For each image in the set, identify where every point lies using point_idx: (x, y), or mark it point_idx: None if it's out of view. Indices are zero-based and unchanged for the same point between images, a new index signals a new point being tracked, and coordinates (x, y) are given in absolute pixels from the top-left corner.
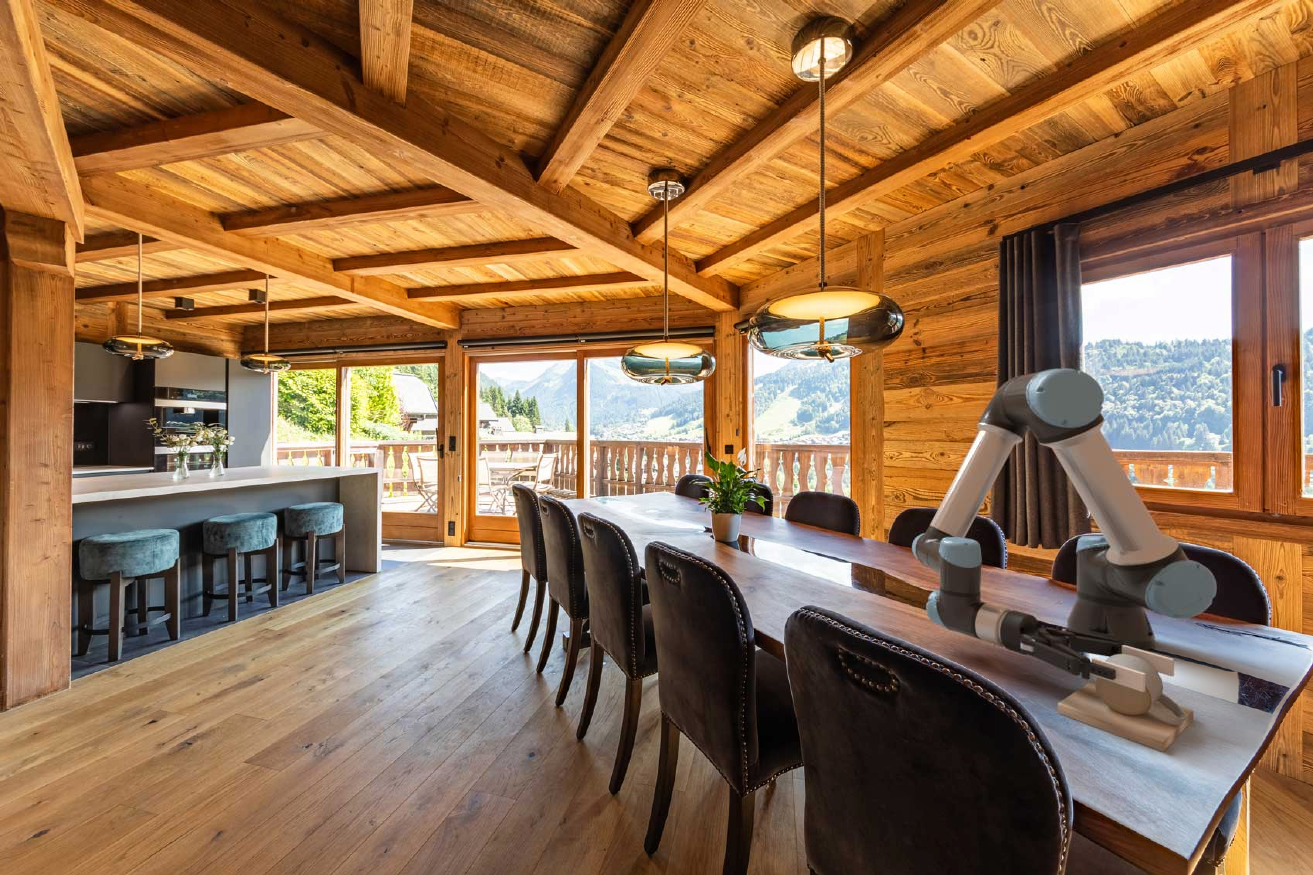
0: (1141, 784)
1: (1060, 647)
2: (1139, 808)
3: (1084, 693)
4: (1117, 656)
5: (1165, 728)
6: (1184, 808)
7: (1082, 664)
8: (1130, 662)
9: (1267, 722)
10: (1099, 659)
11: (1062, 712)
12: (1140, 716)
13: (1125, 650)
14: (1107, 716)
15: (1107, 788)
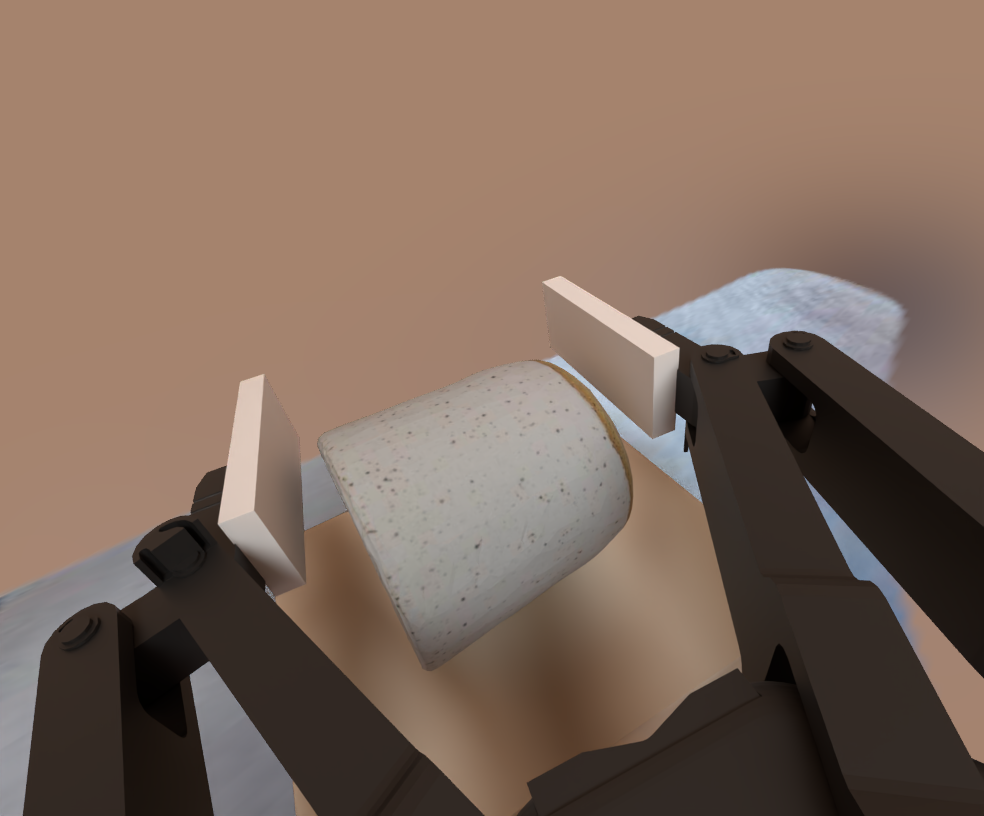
0: (738, 344)
1: (813, 507)
2: (791, 305)
3: (582, 708)
4: (397, 479)
5: None
6: (701, 314)
7: (752, 357)
8: (430, 406)
9: (106, 551)
10: (639, 344)
11: None
12: None
13: (268, 514)
14: (638, 505)
15: (829, 330)
